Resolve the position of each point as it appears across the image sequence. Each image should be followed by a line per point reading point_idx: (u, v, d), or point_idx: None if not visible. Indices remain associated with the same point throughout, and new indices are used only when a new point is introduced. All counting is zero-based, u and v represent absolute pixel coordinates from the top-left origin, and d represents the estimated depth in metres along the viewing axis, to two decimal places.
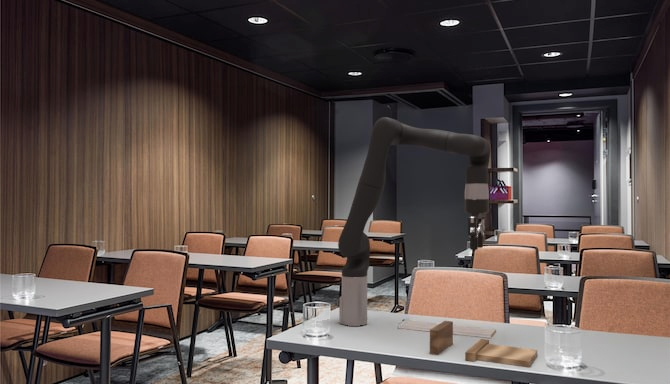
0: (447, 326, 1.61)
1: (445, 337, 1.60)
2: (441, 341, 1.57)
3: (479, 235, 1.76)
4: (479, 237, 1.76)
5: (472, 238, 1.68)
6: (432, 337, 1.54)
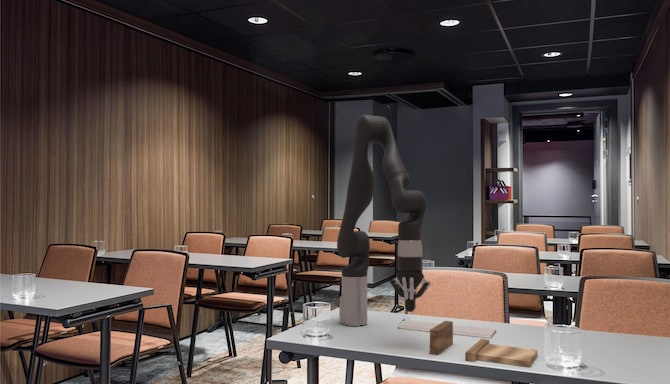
0: (447, 326, 1.61)
1: (445, 337, 1.60)
2: (441, 341, 1.57)
3: (409, 298, 1.66)
4: None
5: (414, 300, 1.65)
6: (432, 337, 1.54)
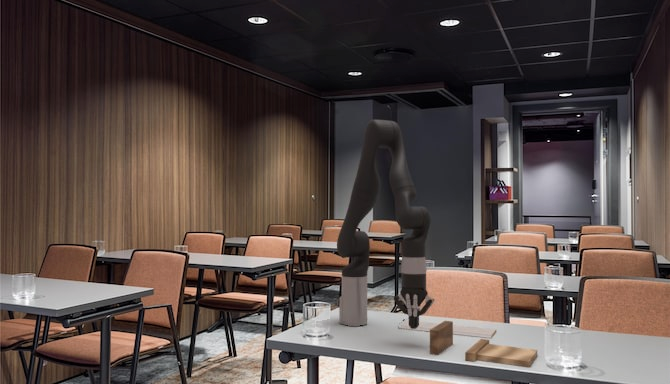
0: (447, 326, 1.61)
1: (445, 337, 1.60)
2: (441, 341, 1.57)
3: None
4: None
5: (417, 317, 1.64)
6: (432, 337, 1.54)
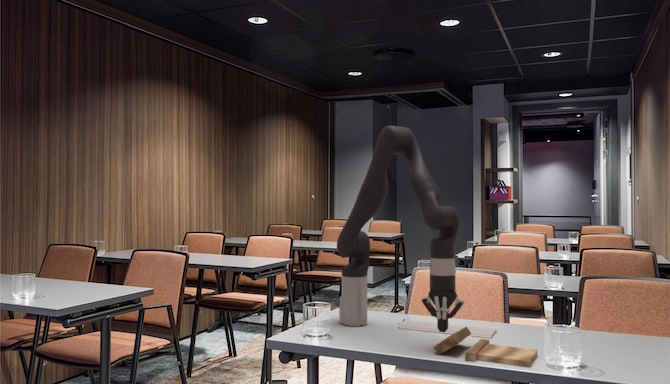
0: None
1: None
2: None
3: (442, 317, 1.60)
4: None
5: (447, 320, 1.59)
6: (449, 342, 1.52)
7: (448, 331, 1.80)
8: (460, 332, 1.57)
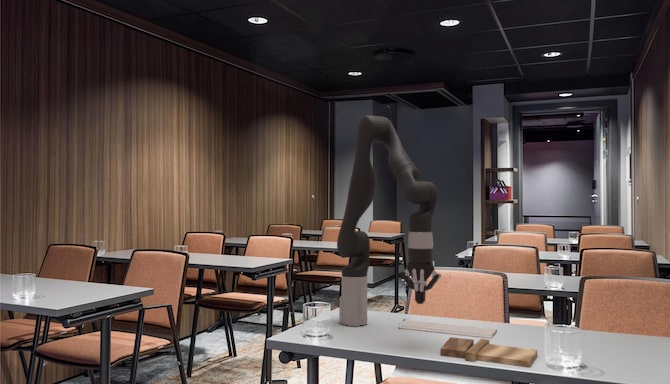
0: None
1: None
2: None
3: (419, 290, 1.64)
4: None
5: (424, 292, 1.63)
6: (458, 353, 1.51)
7: (448, 331, 1.80)
8: (469, 346, 1.56)
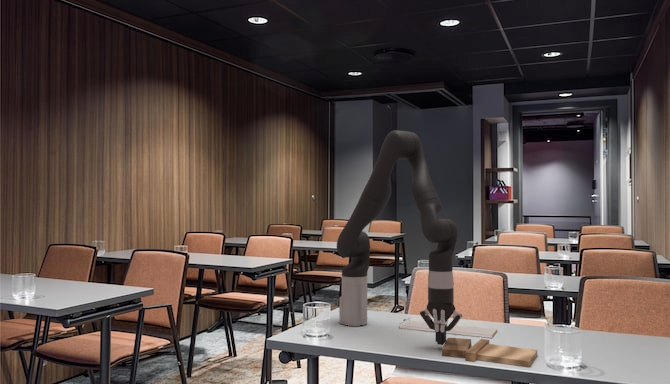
0: None
1: None
2: None
3: None
4: None
5: (445, 332, 1.60)
6: (460, 353, 1.51)
7: (449, 331, 1.80)
8: (469, 346, 1.57)
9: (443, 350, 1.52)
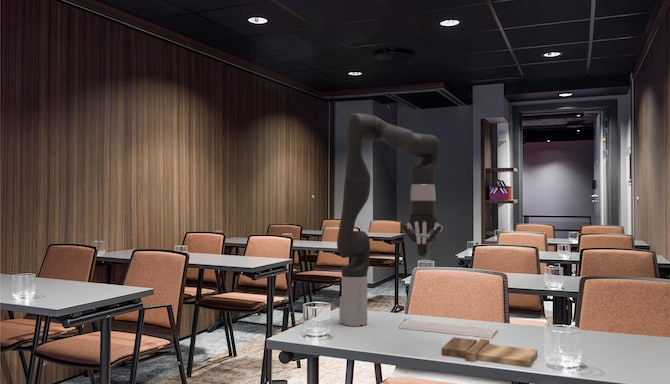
0: None
1: None
2: None
3: (422, 243, 1.64)
4: None
5: (426, 244, 1.63)
6: (459, 353, 1.51)
7: (449, 331, 1.80)
8: (471, 346, 1.56)
9: (442, 349, 1.53)
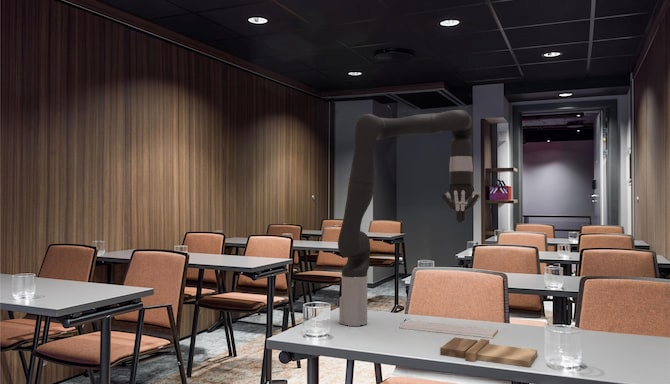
0: None
1: None
2: None
3: (460, 210, 1.80)
4: None
5: (465, 211, 1.79)
6: (457, 353, 1.51)
7: (449, 331, 1.80)
8: (470, 347, 1.56)
9: (441, 349, 1.54)
